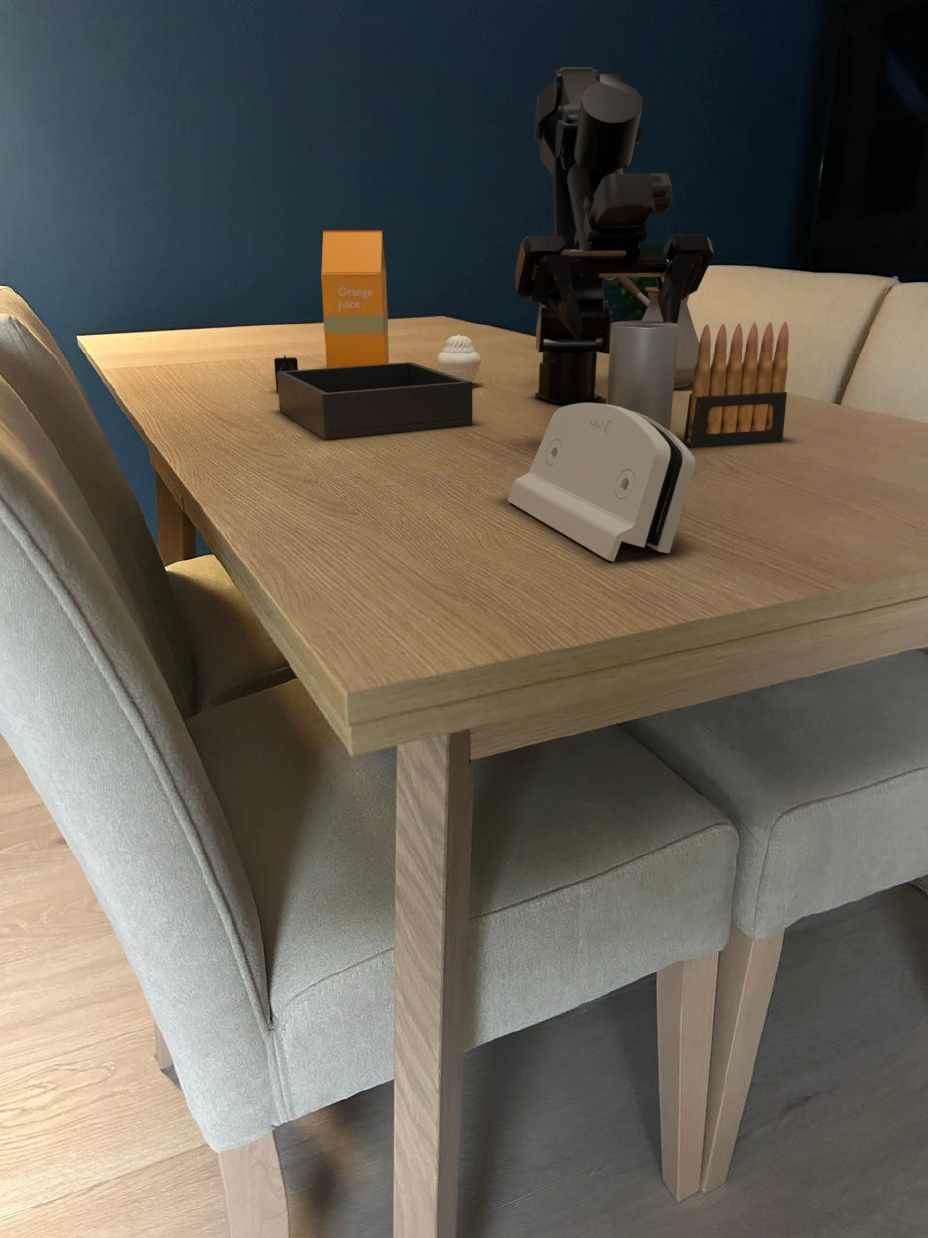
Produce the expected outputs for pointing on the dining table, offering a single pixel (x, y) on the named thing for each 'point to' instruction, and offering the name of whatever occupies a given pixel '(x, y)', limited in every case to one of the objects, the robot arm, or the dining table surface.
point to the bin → (374, 399)
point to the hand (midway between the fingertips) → (626, 334)
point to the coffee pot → (686, 332)
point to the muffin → (459, 358)
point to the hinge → (607, 479)
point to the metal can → (643, 368)
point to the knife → (285, 365)
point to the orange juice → (354, 298)
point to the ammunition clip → (738, 390)
